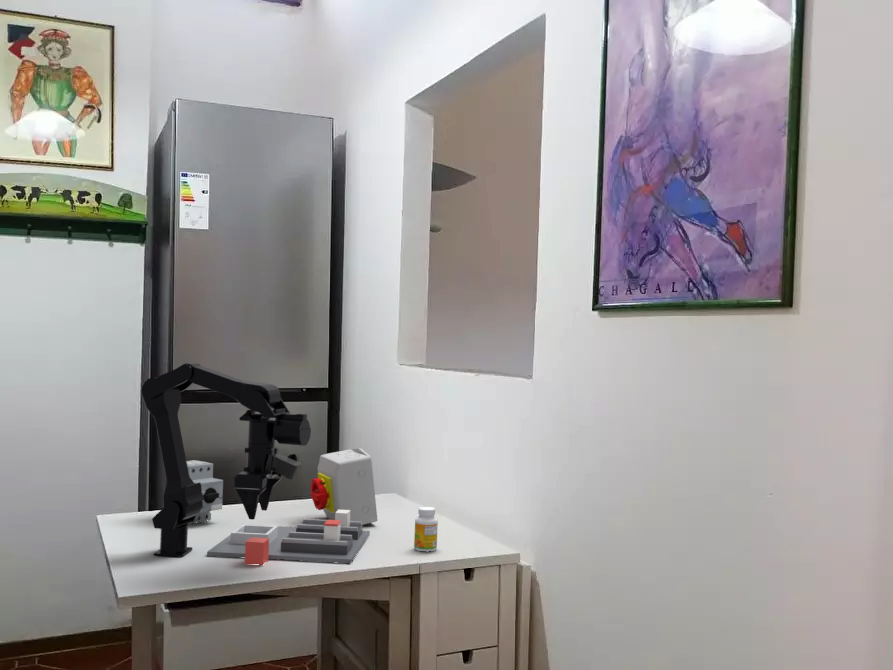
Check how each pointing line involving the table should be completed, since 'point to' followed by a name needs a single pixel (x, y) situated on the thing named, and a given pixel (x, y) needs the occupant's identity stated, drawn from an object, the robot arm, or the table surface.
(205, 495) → the circuit breaker
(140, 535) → the table surface
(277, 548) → the panel
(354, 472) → the electrical switch box
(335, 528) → the toggle
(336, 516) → the toggle
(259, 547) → the coral foam cube
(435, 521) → the supplement bottle
